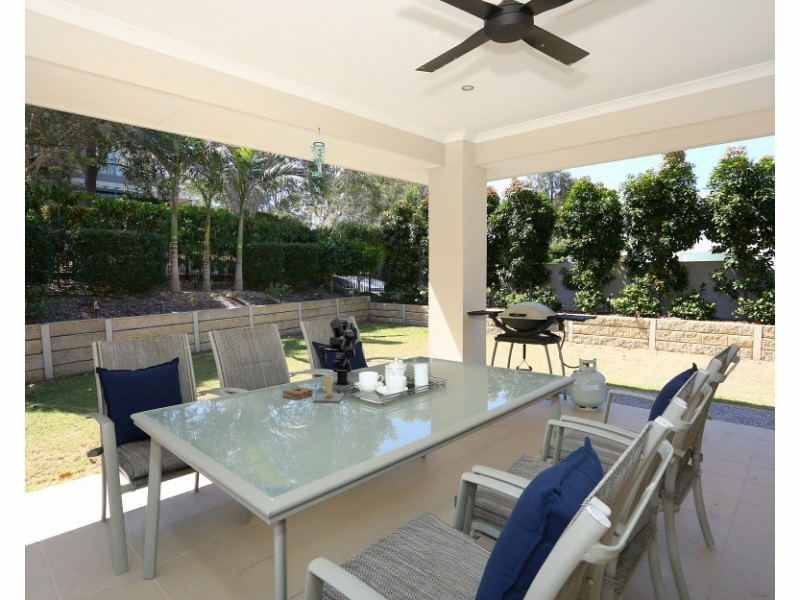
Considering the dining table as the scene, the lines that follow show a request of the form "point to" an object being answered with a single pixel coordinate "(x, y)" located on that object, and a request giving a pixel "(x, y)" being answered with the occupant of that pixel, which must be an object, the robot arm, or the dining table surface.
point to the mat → (334, 399)
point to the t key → (328, 385)
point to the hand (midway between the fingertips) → (333, 365)
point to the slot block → (298, 393)
